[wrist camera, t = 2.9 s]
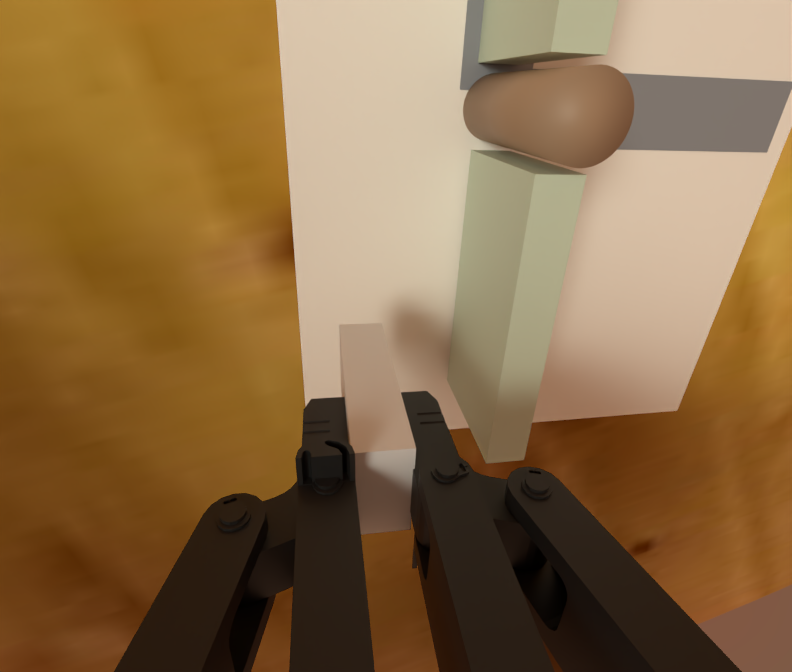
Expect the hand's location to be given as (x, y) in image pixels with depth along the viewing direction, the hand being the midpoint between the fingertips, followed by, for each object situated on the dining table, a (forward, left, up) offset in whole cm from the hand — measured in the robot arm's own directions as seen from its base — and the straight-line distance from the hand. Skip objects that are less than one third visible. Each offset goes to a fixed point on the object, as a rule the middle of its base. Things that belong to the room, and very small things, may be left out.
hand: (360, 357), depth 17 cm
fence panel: (+6, +1, -5) cm, 7 cm away
